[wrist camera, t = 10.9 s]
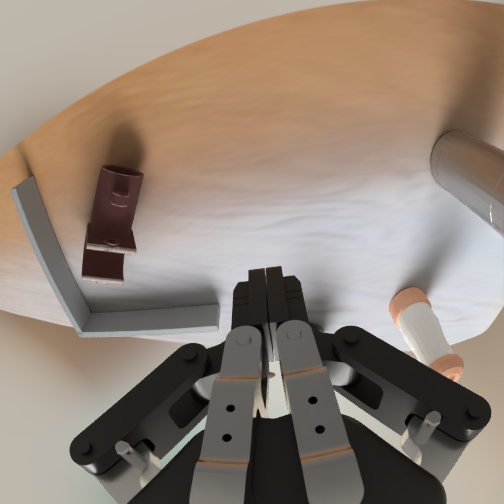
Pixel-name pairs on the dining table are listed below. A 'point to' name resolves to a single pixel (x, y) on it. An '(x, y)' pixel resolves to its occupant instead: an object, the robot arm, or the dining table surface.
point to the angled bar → (72, 298)
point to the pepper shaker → (424, 332)
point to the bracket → (111, 225)
